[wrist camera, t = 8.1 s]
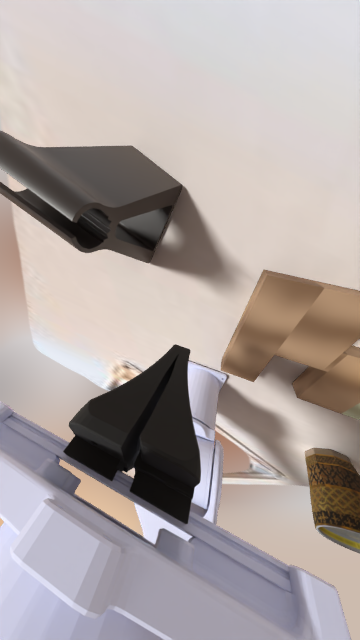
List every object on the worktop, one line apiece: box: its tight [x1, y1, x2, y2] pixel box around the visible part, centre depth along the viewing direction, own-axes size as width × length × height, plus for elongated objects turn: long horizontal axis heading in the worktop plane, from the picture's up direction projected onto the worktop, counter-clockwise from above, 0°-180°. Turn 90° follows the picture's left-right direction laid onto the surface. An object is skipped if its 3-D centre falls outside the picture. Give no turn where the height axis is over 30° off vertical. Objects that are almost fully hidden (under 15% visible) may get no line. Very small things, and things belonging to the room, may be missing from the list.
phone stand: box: [0, 131, 182, 263], centre depth 12 cm, size 9×6×12 cm, turn 148°
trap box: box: [221, 270, 360, 420], centre depth 17 cm, size 15×20×4 cm
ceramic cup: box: [305, 448, 360, 553], centre depth 24 cm, size 13×10×10 cm
